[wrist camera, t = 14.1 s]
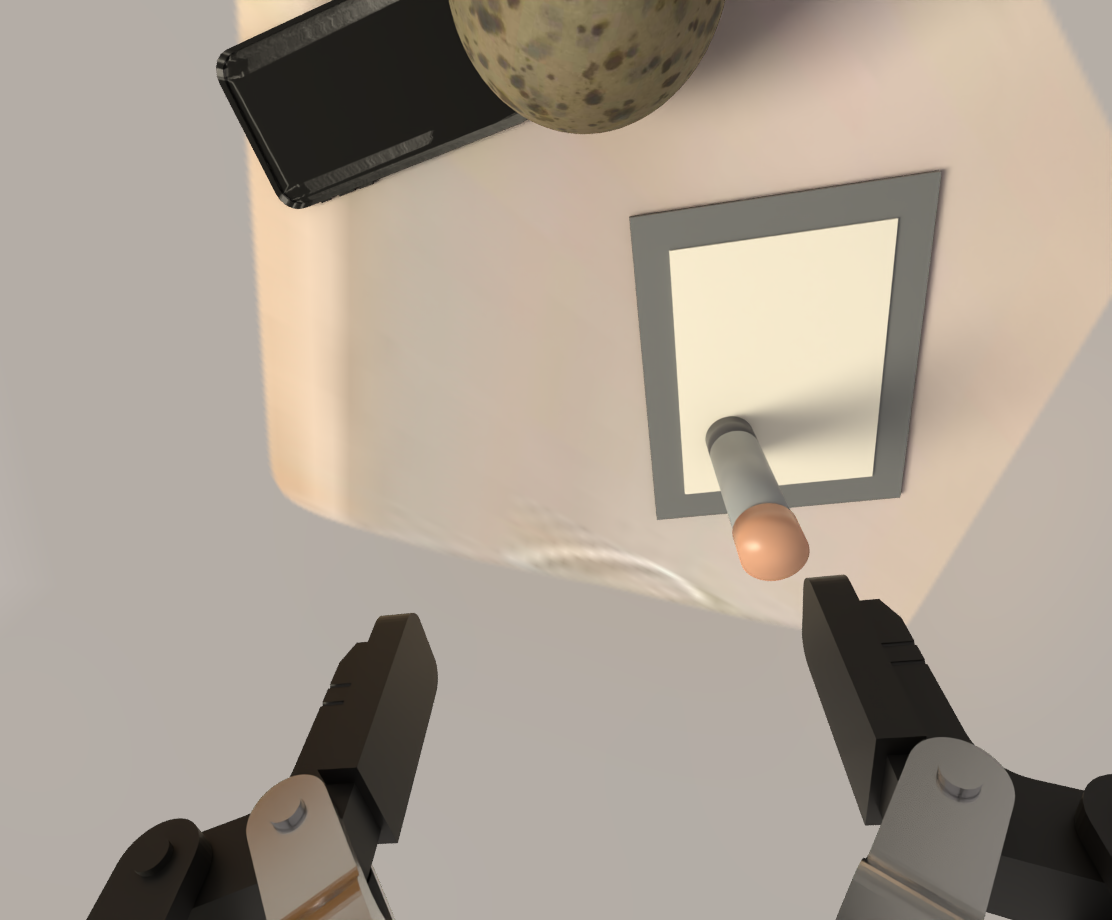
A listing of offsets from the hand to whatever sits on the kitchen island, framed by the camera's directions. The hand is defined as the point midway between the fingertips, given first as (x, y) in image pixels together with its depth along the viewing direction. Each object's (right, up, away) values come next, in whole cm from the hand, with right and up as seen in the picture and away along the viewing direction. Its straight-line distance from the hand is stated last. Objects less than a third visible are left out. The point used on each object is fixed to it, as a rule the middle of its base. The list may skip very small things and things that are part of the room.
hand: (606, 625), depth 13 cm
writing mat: (+12, +9, +26) cm, 30 cm away
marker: (+10, +5, +27) cm, 30 cm away
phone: (-10, +23, +20) cm, 32 cm away
